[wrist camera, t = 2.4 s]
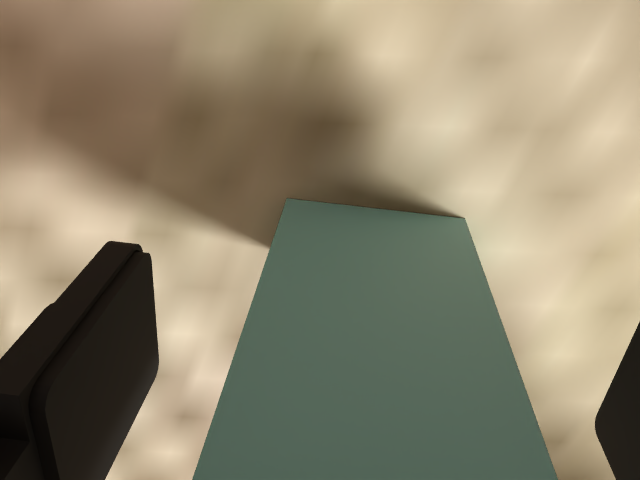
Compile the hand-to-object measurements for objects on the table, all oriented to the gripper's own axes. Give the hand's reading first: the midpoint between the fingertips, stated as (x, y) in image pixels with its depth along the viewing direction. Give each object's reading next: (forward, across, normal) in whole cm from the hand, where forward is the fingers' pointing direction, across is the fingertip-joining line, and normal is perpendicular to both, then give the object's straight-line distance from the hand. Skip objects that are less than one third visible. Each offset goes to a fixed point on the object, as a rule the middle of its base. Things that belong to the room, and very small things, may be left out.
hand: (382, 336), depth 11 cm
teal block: (+6, 0, +1) cm, 6 cm away
